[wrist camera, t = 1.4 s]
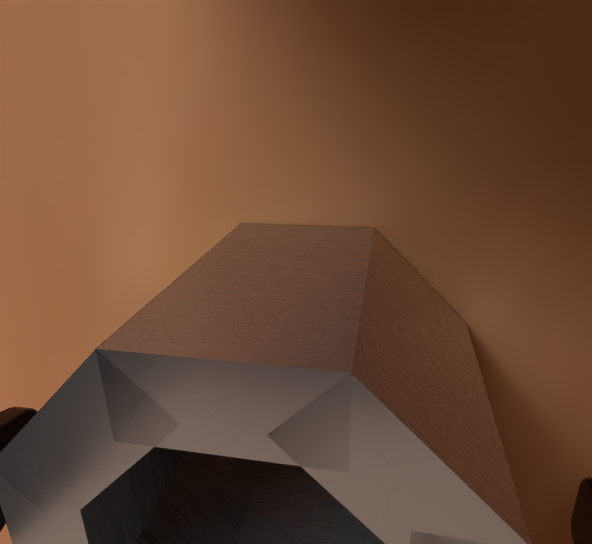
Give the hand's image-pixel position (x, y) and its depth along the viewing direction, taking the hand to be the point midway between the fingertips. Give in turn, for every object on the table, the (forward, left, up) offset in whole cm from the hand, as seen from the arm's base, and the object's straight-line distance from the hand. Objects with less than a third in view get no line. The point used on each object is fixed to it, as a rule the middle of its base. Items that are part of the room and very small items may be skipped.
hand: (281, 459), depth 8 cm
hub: (0, 0, -3) cm, 3 cm away
